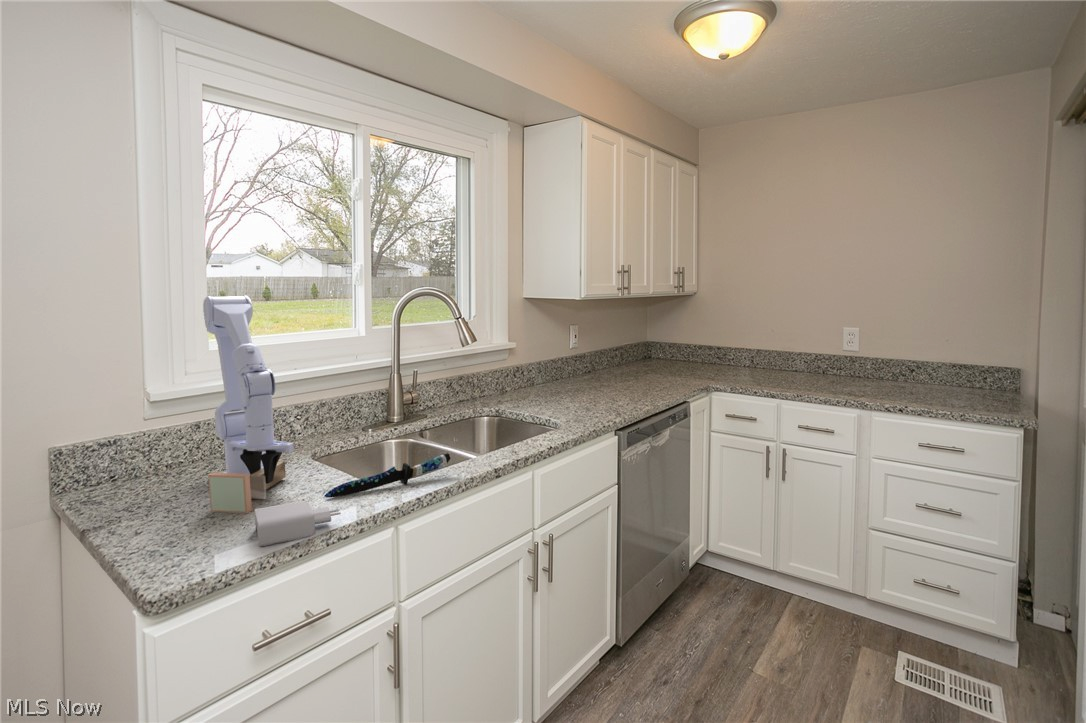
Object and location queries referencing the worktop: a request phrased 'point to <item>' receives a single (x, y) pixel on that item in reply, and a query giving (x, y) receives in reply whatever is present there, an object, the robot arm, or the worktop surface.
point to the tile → (230, 492)
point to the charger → (289, 522)
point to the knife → (389, 477)
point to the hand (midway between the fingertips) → (263, 481)
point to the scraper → (259, 483)
